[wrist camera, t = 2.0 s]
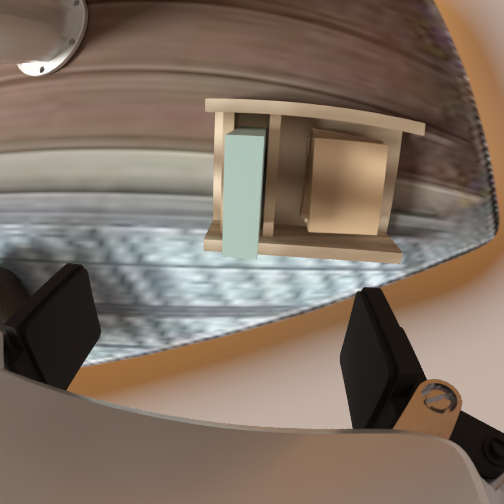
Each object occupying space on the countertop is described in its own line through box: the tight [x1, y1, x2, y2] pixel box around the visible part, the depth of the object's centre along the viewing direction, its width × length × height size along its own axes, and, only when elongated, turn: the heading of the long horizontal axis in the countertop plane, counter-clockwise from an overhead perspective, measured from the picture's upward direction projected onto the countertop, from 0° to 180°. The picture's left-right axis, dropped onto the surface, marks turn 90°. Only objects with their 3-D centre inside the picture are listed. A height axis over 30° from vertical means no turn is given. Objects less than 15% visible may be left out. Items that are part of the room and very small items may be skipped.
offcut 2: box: [307, 136, 388, 235], centre depth 29 cm, size 9×7×2 cm
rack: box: [204, 99, 425, 264], centre depth 31 cm, size 14×20×7 cm
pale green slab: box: [222, 126, 266, 259], centre depth 28 cm, size 9×3×12 cm, turn 177°
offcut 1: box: [300, 128, 384, 219], centre depth 31 cm, size 9×7×2 cm
